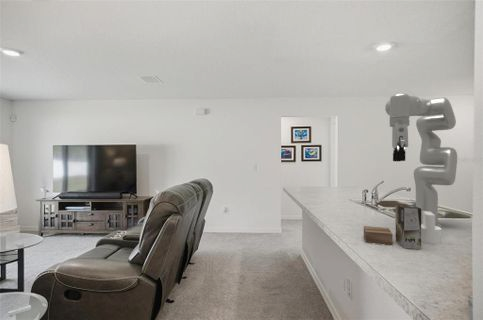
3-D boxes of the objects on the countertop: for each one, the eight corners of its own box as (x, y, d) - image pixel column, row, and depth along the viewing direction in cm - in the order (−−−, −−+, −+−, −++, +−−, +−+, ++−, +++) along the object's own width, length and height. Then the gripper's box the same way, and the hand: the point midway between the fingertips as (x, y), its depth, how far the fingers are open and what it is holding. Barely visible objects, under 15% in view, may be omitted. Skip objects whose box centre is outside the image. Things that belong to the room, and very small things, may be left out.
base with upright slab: (414, 236, 117) (414, 210, 117) (438, 239, 113) (438, 212, 113) (417, 242, 109) (417, 214, 109) (444, 245, 105) (444, 216, 105)
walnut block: (363, 236, 118) (363, 225, 118) (388, 239, 114) (388, 228, 114) (365, 243, 109) (365, 231, 109) (392, 246, 105) (392, 234, 105)
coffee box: (422, 249, 100) (422, 208, 100) (403, 248, 102) (403, 207, 102) (411, 242, 109) (411, 204, 109) (395, 241, 111) (395, 203, 110)
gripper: (413, 118, 104) (413, 160, 104) (405, 125, 120) (404, 161, 120) (392, 119, 107) (392, 160, 107) (387, 125, 123) (386, 161, 123)
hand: (398, 161), depth 113 cm, fingers open, 9 cm apart
